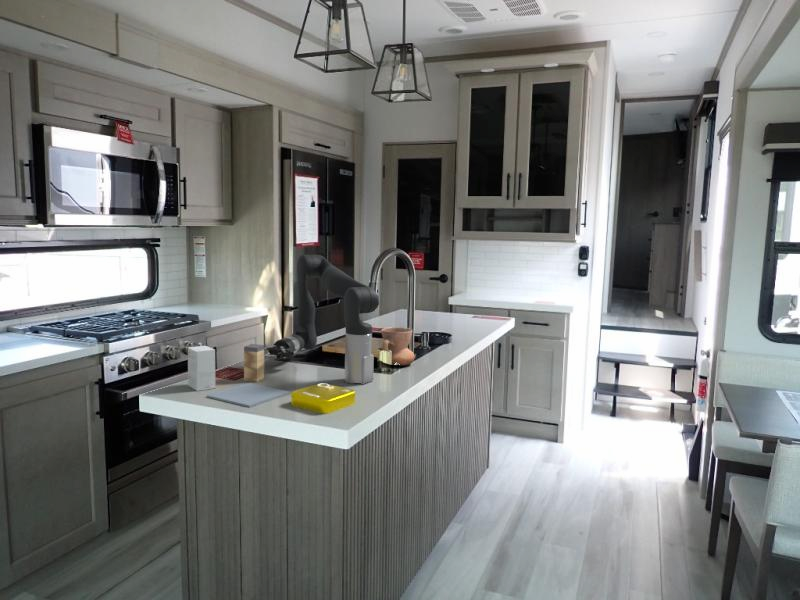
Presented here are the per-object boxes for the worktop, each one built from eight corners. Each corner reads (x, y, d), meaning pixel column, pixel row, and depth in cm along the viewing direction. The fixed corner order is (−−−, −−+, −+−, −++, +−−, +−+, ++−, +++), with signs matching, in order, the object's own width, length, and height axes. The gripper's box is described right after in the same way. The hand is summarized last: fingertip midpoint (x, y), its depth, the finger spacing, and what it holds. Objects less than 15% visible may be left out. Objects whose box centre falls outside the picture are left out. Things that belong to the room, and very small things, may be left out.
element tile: (288, 405, 179) (288, 390, 179) (321, 395, 192) (321, 380, 191) (325, 416, 171) (326, 399, 170) (357, 404, 183) (358, 389, 183)
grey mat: (289, 393, 191) (289, 391, 191) (249, 407, 175) (249, 405, 175) (248, 384, 199) (248, 382, 199) (206, 397, 184) (206, 395, 184)
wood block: (264, 378, 208) (264, 345, 206) (257, 382, 203) (257, 347, 202) (251, 377, 209) (251, 343, 208) (244, 380, 204) (244, 346, 203)
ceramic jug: (393, 357, 247) (393, 324, 245) (423, 362, 239) (423, 328, 237) (367, 366, 232) (367, 330, 230) (398, 371, 224) (398, 335, 223)
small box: (215, 388, 194) (215, 349, 192) (196, 391, 190) (196, 351, 188) (206, 382, 200) (206, 345, 198) (187, 385, 196) (187, 347, 194)
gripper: (269, 336, 231) (249, 344, 216) (303, 339, 228) (285, 347, 212) (269, 355, 232) (249, 364, 217) (303, 358, 229) (284, 367, 213)
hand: (266, 355), depth 214 cm, fingers open, 8 cm apart
